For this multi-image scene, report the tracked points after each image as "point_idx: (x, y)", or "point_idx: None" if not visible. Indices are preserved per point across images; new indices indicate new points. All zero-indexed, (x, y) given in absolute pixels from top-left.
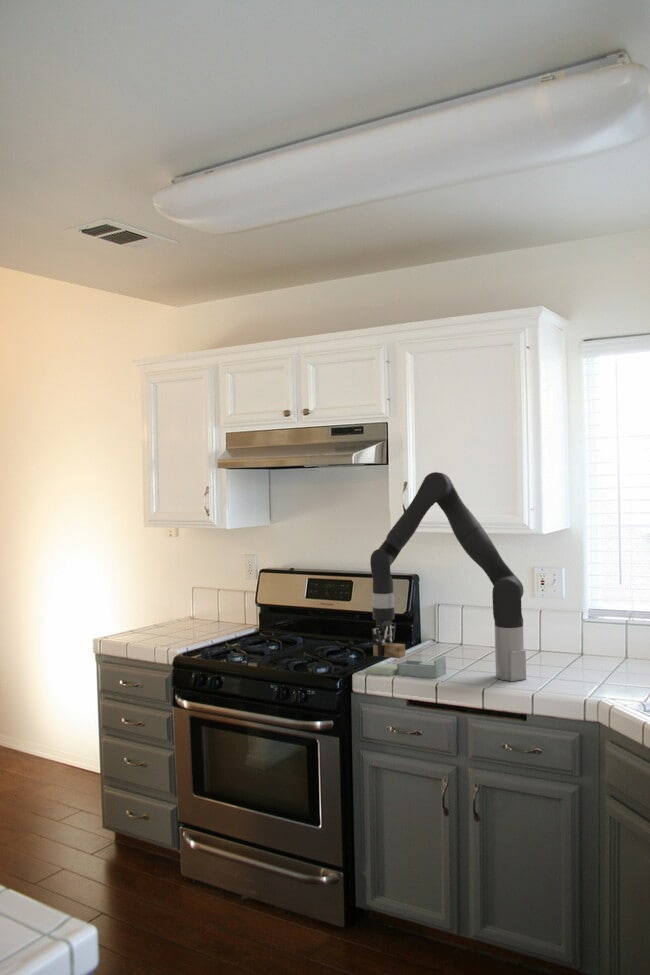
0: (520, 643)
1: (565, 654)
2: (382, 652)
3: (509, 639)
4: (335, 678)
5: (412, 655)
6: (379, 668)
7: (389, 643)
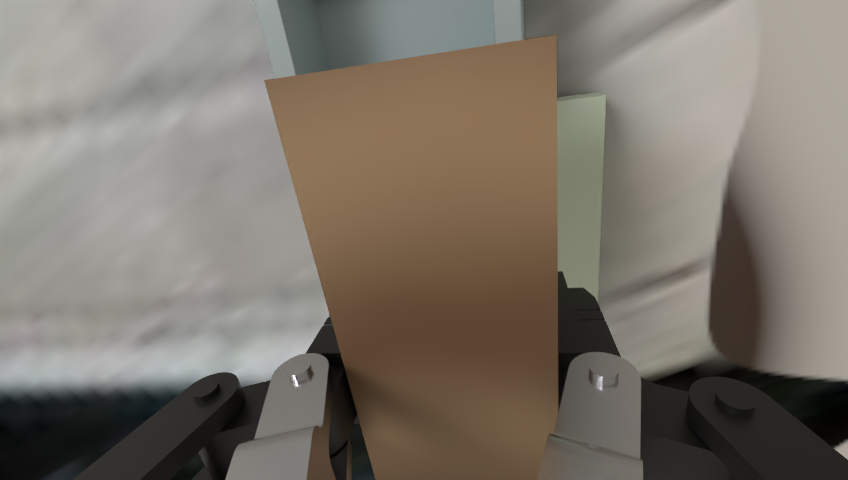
0: None
1: None
2: (570, 305)
3: None
4: (835, 410)
5: (5, 307)
6: None
7: (383, 351)
